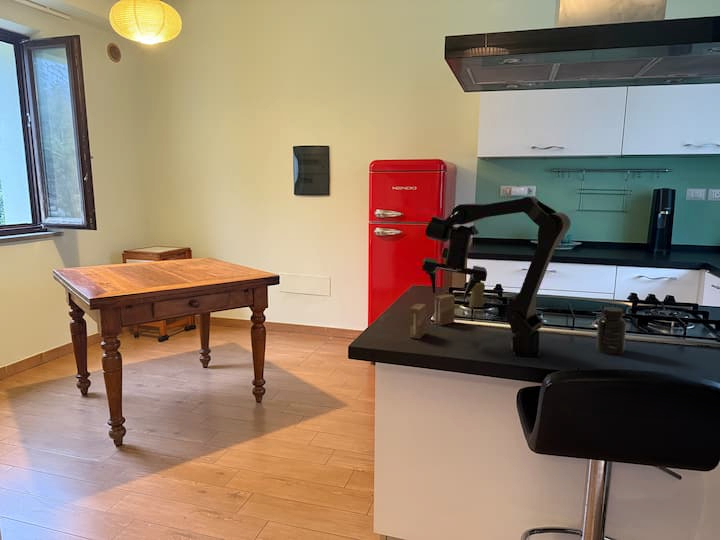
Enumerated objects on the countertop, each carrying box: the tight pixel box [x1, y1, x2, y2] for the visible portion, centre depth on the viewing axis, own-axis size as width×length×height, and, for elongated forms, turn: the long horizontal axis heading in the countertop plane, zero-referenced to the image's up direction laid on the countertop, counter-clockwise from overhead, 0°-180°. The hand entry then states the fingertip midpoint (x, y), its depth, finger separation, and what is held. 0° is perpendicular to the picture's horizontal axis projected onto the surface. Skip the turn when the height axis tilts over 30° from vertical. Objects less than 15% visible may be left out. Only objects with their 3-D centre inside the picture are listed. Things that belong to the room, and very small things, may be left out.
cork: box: [468, 281, 486, 308], centre depth 172 cm, size 6×6×11 cm
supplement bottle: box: [596, 306, 627, 356], centre depth 130 cm, size 7×7×12 cm
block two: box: [433, 293, 456, 326], centre depth 155 cm, size 3×6×9 cm, turn 126°
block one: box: [409, 303, 427, 340], centre depth 142 cm, size 3×6×9 cm, turn 156°
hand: (449, 295), depth 143 cm, fingers open, 9 cm apart
